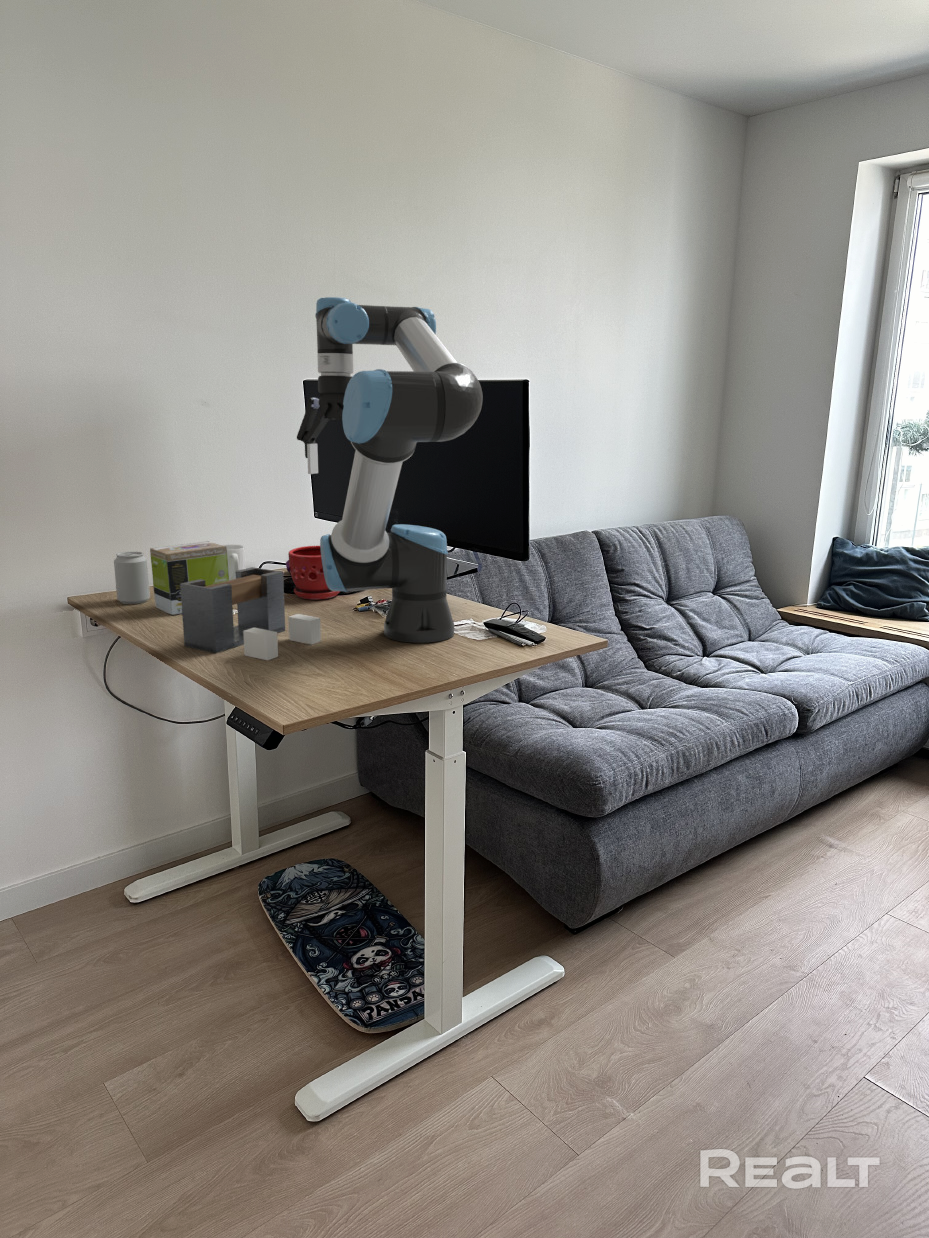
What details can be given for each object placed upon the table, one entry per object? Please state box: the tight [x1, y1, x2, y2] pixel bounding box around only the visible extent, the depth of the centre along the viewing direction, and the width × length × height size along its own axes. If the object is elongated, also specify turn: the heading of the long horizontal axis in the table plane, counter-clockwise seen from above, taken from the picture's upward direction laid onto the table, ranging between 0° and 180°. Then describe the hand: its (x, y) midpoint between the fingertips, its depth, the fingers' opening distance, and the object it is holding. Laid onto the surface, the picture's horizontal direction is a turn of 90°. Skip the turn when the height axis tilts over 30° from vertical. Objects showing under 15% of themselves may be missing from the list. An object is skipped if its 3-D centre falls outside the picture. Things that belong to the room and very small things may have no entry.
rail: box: [204, 575, 262, 606], centre depth 180 cm, size 4×16×4 cm, turn 150°
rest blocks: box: [243, 613, 322, 661], centre depth 176 cm, size 6×16×5 cm, turn 150°
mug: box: [222, 544, 247, 581], centre depth 227 cm, size 12×8×10 cm, turn 26°
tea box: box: [149, 540, 229, 616], centre depth 206 cm, size 15×10×15 cm
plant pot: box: [287, 545, 341, 601], centre depth 219 cm, size 13×13×12 cm
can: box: [113, 551, 151, 605], centre depth 211 cm, size 8×8×12 cm
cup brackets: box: [180, 566, 286, 654], centre depth 181 cm, size 9×20×13 cm, turn 150°
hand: (337, 475), depth 191 cm, fingers open, 13 cm apart
